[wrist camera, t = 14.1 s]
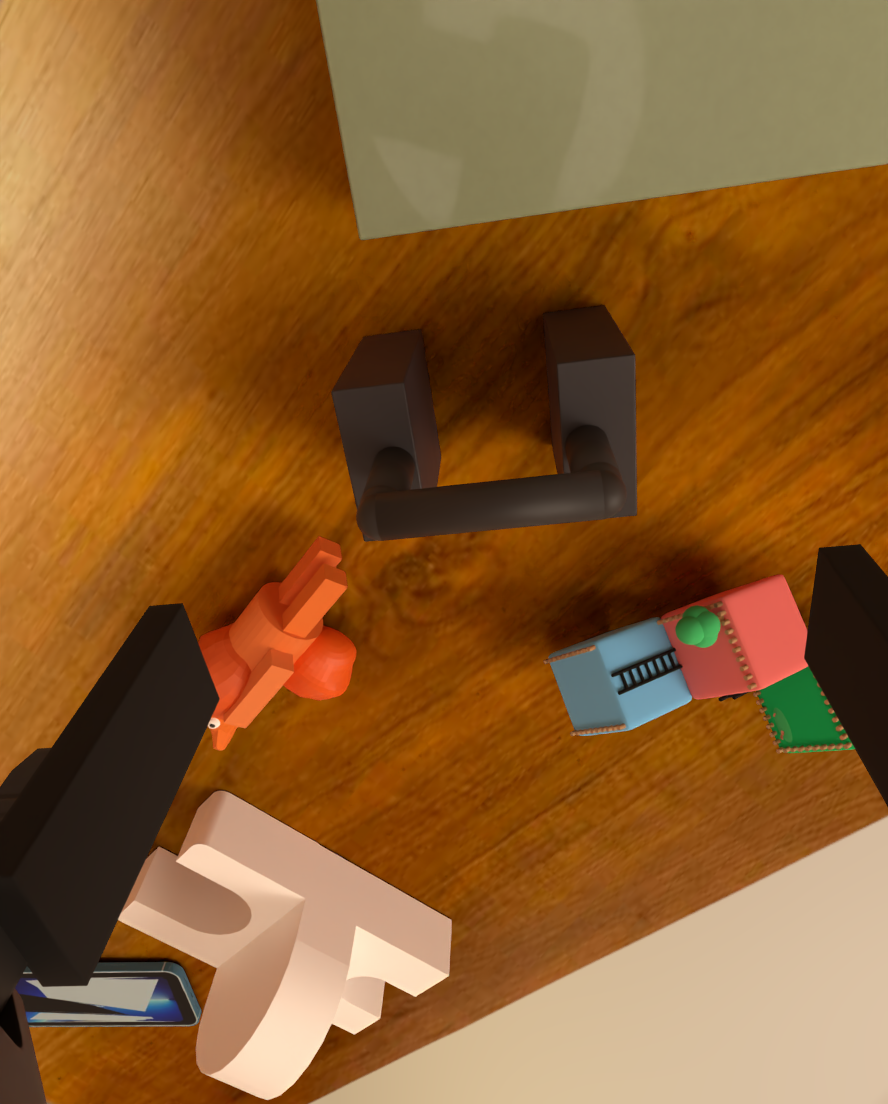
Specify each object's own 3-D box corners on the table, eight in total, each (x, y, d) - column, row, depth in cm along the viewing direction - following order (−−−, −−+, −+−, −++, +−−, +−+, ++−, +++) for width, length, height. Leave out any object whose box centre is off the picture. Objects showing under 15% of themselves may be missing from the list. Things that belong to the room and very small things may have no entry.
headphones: (362, 336, 30) (299, 443, 20) (604, 304, 29) (665, 401, 19) (387, 463, 32) (342, 613, 23) (609, 439, 31) (663, 585, 22)
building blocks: (711, 592, 40) (539, 656, 35) (842, 549, 33) (655, 621, 28) (768, 731, 39) (600, 822, 33) (917, 717, 32) (738, 830, 26)
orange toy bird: (281, 579, 29) (148, 750, 34) (430, 636, 33) (291, 780, 38) (276, 501, 33) (157, 666, 38) (411, 560, 37) (286, 702, 42)
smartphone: (201, 1026, 56) (10, 1027, 57) (205, 1013, 57) (17, 1014, 57) (177, 970, 52) (-27, 972, 53) (181, 957, 53) (-20, 959, 54)
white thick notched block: (451, 919, 49) (442, 1113, 39) (362, 978, 53) (334, 1168, 43) (219, 787, 43) (143, 974, 34) (140, 864, 48) (53, 1051, 38)
